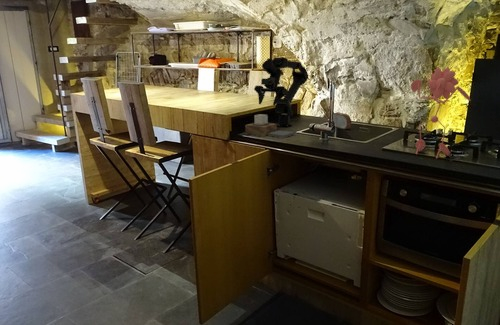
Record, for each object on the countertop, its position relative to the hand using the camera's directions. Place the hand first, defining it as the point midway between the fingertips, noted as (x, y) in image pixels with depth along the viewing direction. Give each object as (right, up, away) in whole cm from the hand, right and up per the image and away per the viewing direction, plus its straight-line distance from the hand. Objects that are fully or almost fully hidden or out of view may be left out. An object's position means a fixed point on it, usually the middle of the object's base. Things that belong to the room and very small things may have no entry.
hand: (266, 104), depth 220 cm
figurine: (+68, -28, -52) cm, 90 cm away
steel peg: (-3, -14, -2) cm, 14 cm away
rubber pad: (+7, -17, -8) cm, 20 cm away
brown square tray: (-3, -16, -2) cm, 16 cm away
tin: (+42, -12, +8) cm, 44 cm away
